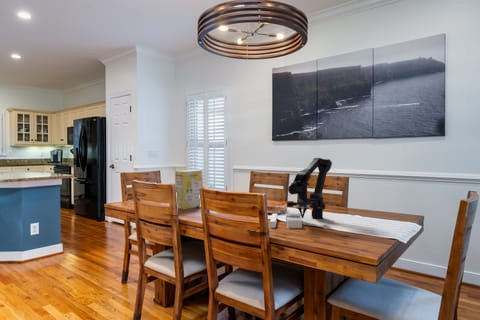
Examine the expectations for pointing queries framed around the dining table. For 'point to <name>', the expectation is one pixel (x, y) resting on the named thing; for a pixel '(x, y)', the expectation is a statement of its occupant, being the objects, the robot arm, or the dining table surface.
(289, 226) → the grey block
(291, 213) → the slate block
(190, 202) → the pasta box
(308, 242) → the dining table surface
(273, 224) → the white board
